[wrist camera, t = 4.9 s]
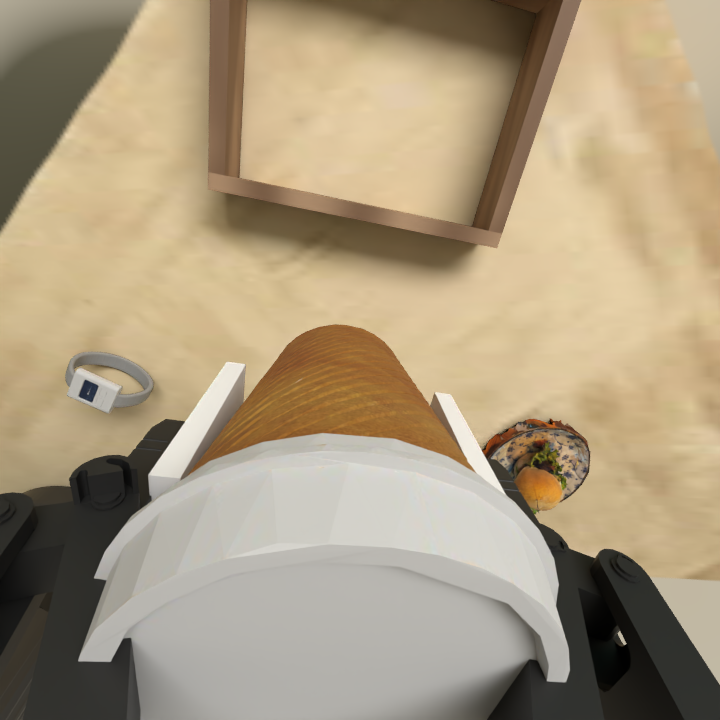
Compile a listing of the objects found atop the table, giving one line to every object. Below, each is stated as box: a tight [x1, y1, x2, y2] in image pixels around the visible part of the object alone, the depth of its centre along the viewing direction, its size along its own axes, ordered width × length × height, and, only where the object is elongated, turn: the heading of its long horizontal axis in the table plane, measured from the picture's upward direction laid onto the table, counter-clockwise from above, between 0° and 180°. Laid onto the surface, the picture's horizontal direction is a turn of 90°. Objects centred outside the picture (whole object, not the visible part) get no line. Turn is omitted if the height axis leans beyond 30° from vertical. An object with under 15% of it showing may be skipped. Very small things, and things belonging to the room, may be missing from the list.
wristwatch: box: [65, 352, 153, 414], centre depth 29 cm, size 6×3×5 cm, turn 57°
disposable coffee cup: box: [78, 325, 570, 720], centre depth 12 cm, size 10×10×12 cm
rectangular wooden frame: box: [208, 0, 581, 248], centre depth 22 cm, size 20×15×4 cm
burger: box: [482, 419, 590, 514], centre depth 35 cm, size 12×12×8 cm
